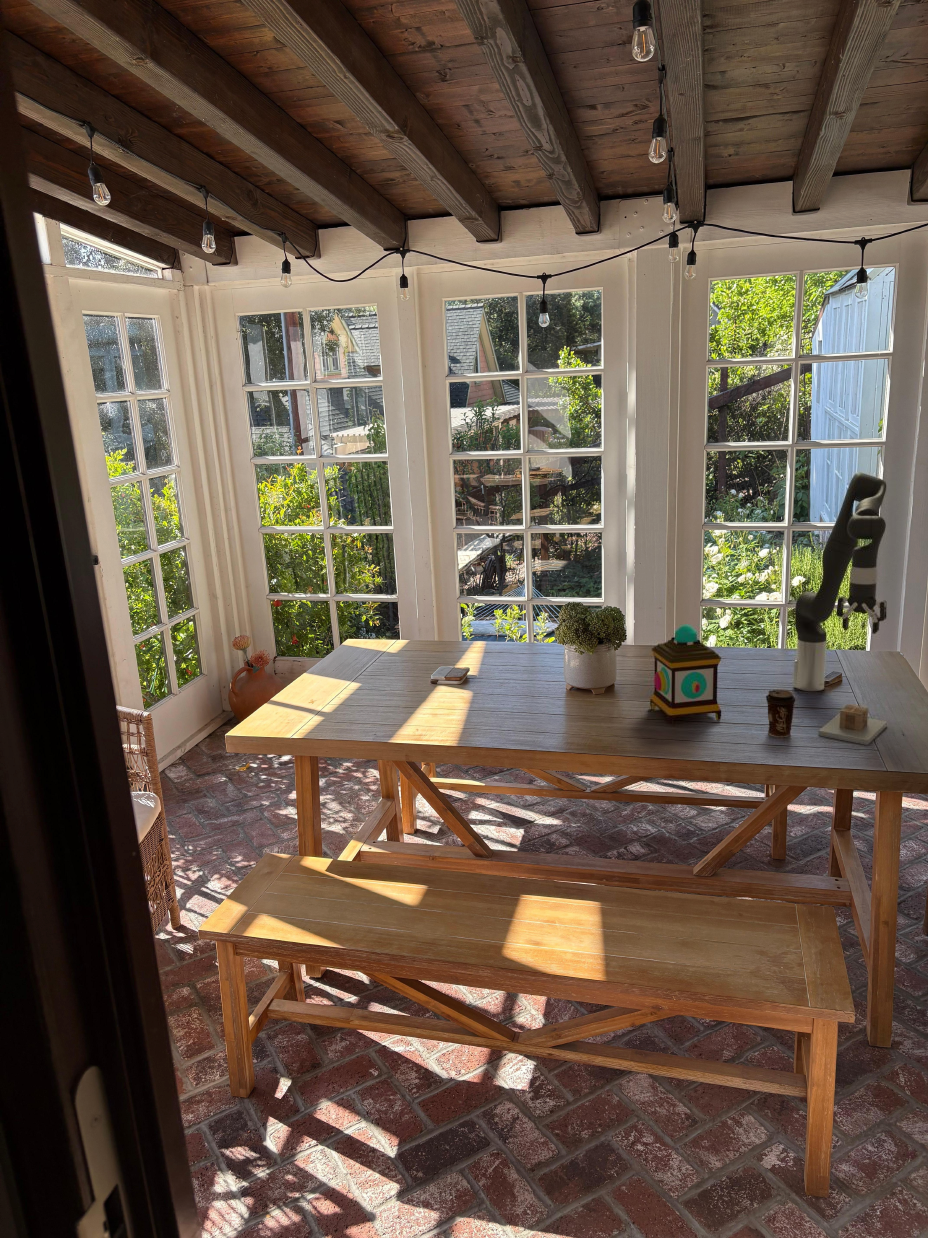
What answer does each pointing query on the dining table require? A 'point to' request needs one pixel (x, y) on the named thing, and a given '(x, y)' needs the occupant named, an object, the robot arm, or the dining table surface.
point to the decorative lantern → (685, 676)
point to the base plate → (853, 731)
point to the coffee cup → (780, 712)
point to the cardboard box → (853, 717)
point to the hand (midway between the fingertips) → (860, 631)
